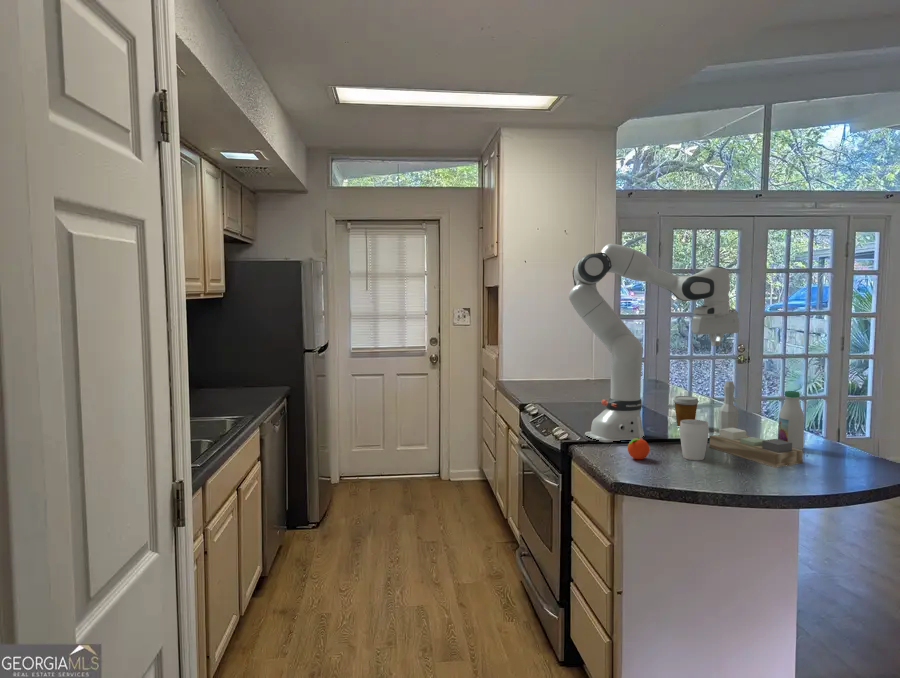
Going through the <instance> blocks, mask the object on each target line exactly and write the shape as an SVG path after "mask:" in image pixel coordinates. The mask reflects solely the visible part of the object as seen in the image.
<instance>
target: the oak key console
mask: <svg viewBox="0 0 900 678" xmlns="http://www.w3.org/2000/svg"><path fill="white" fill-rule="evenodd" d="M749 437H751V436H748V435H746V438H749ZM709 448H711V449H715V450H717V451H720V452H724V453H727V454H730V455H733V456H737V457H740V458H743V459H747V460H750V461H753V462H756V463H759V464H762V465H765V464H766V466H768V467H769V466H770V467H773V468H778V467H779V466H780V467H786V465H787V466H792V465H798V464H803V462H804V461H803V460H804V459H803V458H804V457H803V456H804V455H803V454H804V450H803V449H802V450H798V449H795V448H792V451H788V452H781V453H777V452H773V451H770V450H766V449H762V445H761V446H752V445H748V444H745V443H741V442H740V439H739V440H731V439H727V438H723V437H720V434H716V435H709ZM780 467H779V468H780Z"/></svg>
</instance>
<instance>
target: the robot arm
mask: <svg viewBox="0 0 900 678" xmlns="http://www.w3.org/2000/svg"><path fill="white" fill-rule="evenodd" d="M608 273H613V274H616V275H618V276H621V277H623V278H624V279H625V278H626V279H627V280H628V279H629V280H633V281H637V282H638V281H639V282H646V283H650V284H653V285H655V286H658V287H660V288H663V289H665V290H667V291H668V292H670V293H671V294H672V295H673V296H674V297H675V298H676V299H678V300H679V301H682V302H691V301H692V302H696V301H700V300H703V304H702V305H699V306H698V307H697V306H696V307H695V308H693V310H692V314H693V316H692V320H691V332H692V334H693V335H701V336H703V335H708V338H709V340H710V346H711V347H717V346H718V347H719V346H721V342H722V339H724V334H738V333H739V331H740V320H739V319H740V318H739V313H738V311H737V310H736V309H735V308H730V297H729V294H730V290H731V289H730V287H731V282H730V274H729V273H730V272H729V270H728V269H727V268H725V267H722V266H717V265H716V266H715V265H709V266H708V265H707V267H706V268H704V269H703V270H700V271H699V272H697V273H694V274H691V275H676V274H673V273H671V272H668V271H666V270H664V269H661V268H659V267H658V266H656V265H655V264H654V263H653V260H652V258H651V257H649V256H648V255H647V254H645V253H643V252H641V251H639V250H637V249H634V248H632V247H629V246H625V245H622V244H617V243H607V244H606V245H605V246H603V247H602V249H601V250H600V252H595V253H589V254H586V255H584V256H583V257H581V258H580V259H578V261H577V262H576V263H575V265H574V267H573V269H572V278H573V283H574V286H573V287H572V288H571V289H570V291H569V293H568V300H569V301H570V304H571V306H572V307H573V308H574V310H575V312H576V313H577V314H578V316H579V317H580V318H581V319H582V321H583V322H584V323H585V324H586V325H587V326H588V328H589V329H590V331H592V333H593V334H594V335H595V336H596V337H597V338H598V340H599V341H601V343H602V344H603V345H604V346H605V348H606V349H607V350H608V351H609V352H610V354H611V363H610V369H611V370H610V397H609V399H608V400H607V399H604V398H603V399H602V400H601V402H600V403H601V405H603V406H606V408H605V409H604V410H602V411H601V413H599V414H598V415H597V416H596V417H595V418H593V420H592V422H591V426H590V427H591V428H590V431H585V433H584V436H585V435H586V436H588V437H590V438H592V439H591V440H593V439H596V440H599V441H598V442H601V443H614V442H613V441H620V440H633V439H635V438H641V439H643V438H644V437H645V432H644V428H643V422H642V412H641V411H642V406H643V404H642V398H641V388H642V387H641V385H642V384H641V383H642V381H641V380H642V369H643V345H642V343H641V341H640V340H639V339H638V338H637V337H636V335H635V334H634V333H633V332H632V331H631V330H630V328H629V327H628V326H627V325H626V324H625V322H624V321H623V320H622V319H621V318H620V317H619V315H618V314H617V313H616V312H615V310H614V309H613V308H612V307H611V305H610V304H609V303H608V302H607V301H606V300H605V299H604V297H603V296H602V295H601V294H600V292H599V290H598V289H597V283H599V282H600V281H601V280H602V279H604V278H605V276H606V275H607V274H608ZM715 337H716V338H715ZM586 436H585V437H586ZM643 436H644V437H643ZM588 437H587V438H588ZM642 437H643V438H642ZM590 438H589V439H590ZM596 440H595V441H596Z"/></svg>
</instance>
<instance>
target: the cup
mask: <svg viewBox="0 0 900 678" xmlns="http://www.w3.org/2000/svg"><path fill="white" fill-rule="evenodd" d="M709 427H710V426H709V422H708V421H706V420H702V419H695V420H693V419H687V420H681V421H680V428H679V439H680V444H681V453H682V457H683V459H686V460H689V461H703V460H704V459H705V455H706V450H707V446H708V445H707V444H708V439H709V434H710V433H709V432H710V430H709Z"/></svg>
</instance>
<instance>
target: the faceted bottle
mask: <svg viewBox="0 0 900 678" xmlns="http://www.w3.org/2000/svg"><path fill="white" fill-rule="evenodd" d="M735 388H736V387H735V383H734V381H732V380H725V382H724V385H723V394H724V395H723V397H724V398H723V399H724V402H723V404H722V405H721V406H720V408H718V419H717V420H718V428H719V431H720V429H725V428H736V429H739V428H738V427H739V418H740V417H739V415H740V413H739V409H738V408H737V407H736V406H735V404H734V398H735V396H734V395H735Z"/></svg>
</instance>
